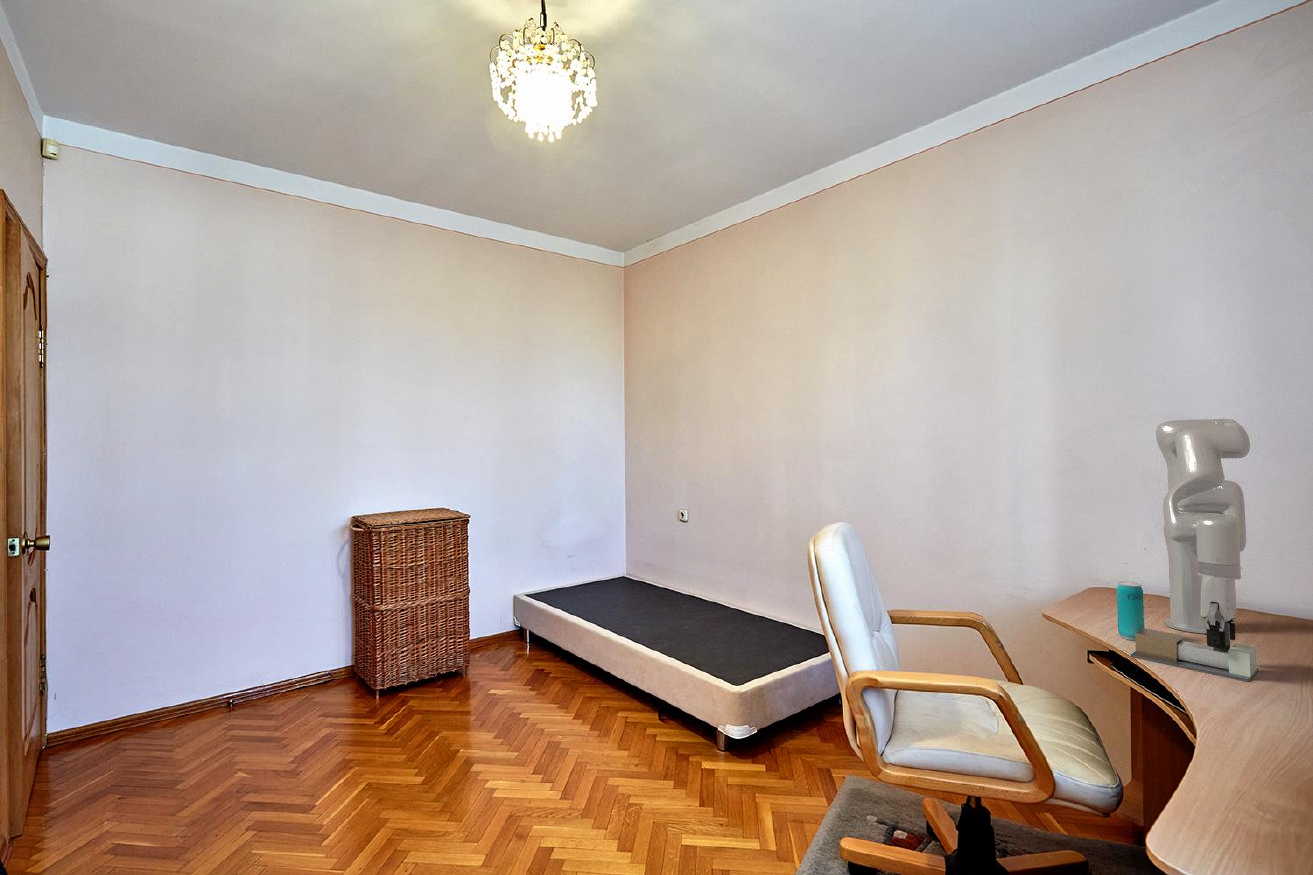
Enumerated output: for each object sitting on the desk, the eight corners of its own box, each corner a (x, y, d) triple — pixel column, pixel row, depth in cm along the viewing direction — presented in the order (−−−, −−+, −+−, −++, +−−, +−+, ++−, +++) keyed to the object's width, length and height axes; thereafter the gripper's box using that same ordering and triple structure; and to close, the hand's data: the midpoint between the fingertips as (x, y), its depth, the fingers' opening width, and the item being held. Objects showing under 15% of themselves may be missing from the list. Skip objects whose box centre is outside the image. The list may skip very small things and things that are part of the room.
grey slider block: (1170, 652, 153) (1169, 612, 153) (1247, 668, 141) (1245, 624, 142) (1165, 656, 150) (1164, 615, 150) (1243, 672, 139) (1242, 628, 139)
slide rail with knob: (1144, 647, 160) (1143, 625, 160) (1258, 670, 142) (1257, 646, 143) (1130, 656, 153) (1129, 634, 153) (1248, 681, 136) (1247, 656, 136)
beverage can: (1149, 642, 164) (1147, 586, 164) (1125, 641, 165) (1123, 585, 165) (1137, 635, 169) (1135, 581, 170) (1113, 634, 171) (1112, 580, 171)
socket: (1236, 665, 144) (1235, 643, 144) (1256, 669, 141) (1255, 646, 141) (1229, 672, 140) (1228, 649, 140) (1250, 677, 137) (1249, 653, 137)
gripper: (1206, 563, 152) (1209, 632, 152) (1188, 572, 142) (1190, 646, 141) (1248, 567, 146) (1251, 639, 146) (1232, 577, 136) (1234, 655, 135)
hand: (1221, 642), depth 143 cm, fingers open, 9 cm apart
